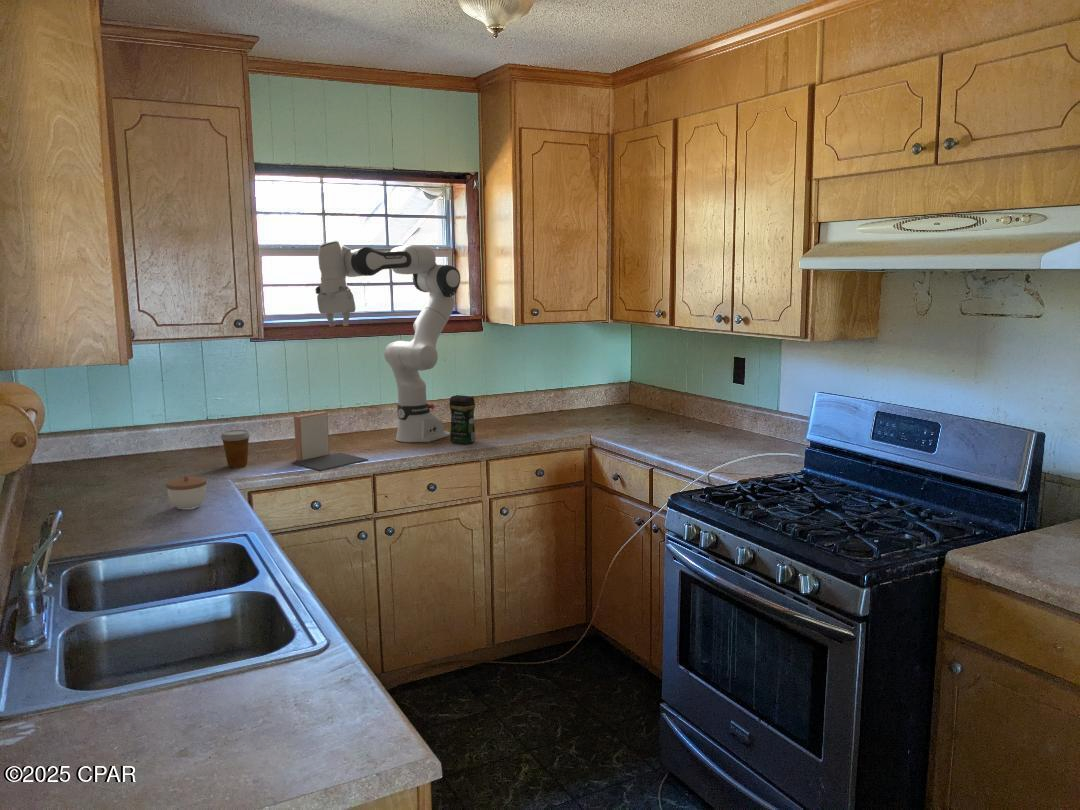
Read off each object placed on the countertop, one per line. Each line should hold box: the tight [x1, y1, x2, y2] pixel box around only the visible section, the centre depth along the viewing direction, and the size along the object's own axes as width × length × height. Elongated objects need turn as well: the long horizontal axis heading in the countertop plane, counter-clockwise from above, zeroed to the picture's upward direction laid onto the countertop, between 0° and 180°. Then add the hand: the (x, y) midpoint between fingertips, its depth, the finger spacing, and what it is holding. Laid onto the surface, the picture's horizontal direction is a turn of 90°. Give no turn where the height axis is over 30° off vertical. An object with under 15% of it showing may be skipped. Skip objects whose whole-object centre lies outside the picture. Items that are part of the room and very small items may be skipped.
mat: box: [291, 451, 369, 472], centre depth 295 cm, size 20×17×1 cm
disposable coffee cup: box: [220, 429, 251, 468], centre depth 289 cm, size 10×10×12 cm
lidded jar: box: [165, 475, 207, 509], centre depth 241 cm, size 11×11×9 cm
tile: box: [293, 411, 331, 461], centre depth 300 cm, size 12×3×16 cm, turn 139°
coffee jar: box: [448, 394, 476, 445], centre depth 323 cm, size 10×8×19 cm
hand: (339, 326), depth 300 cm, fingers open, 8 cm apart
